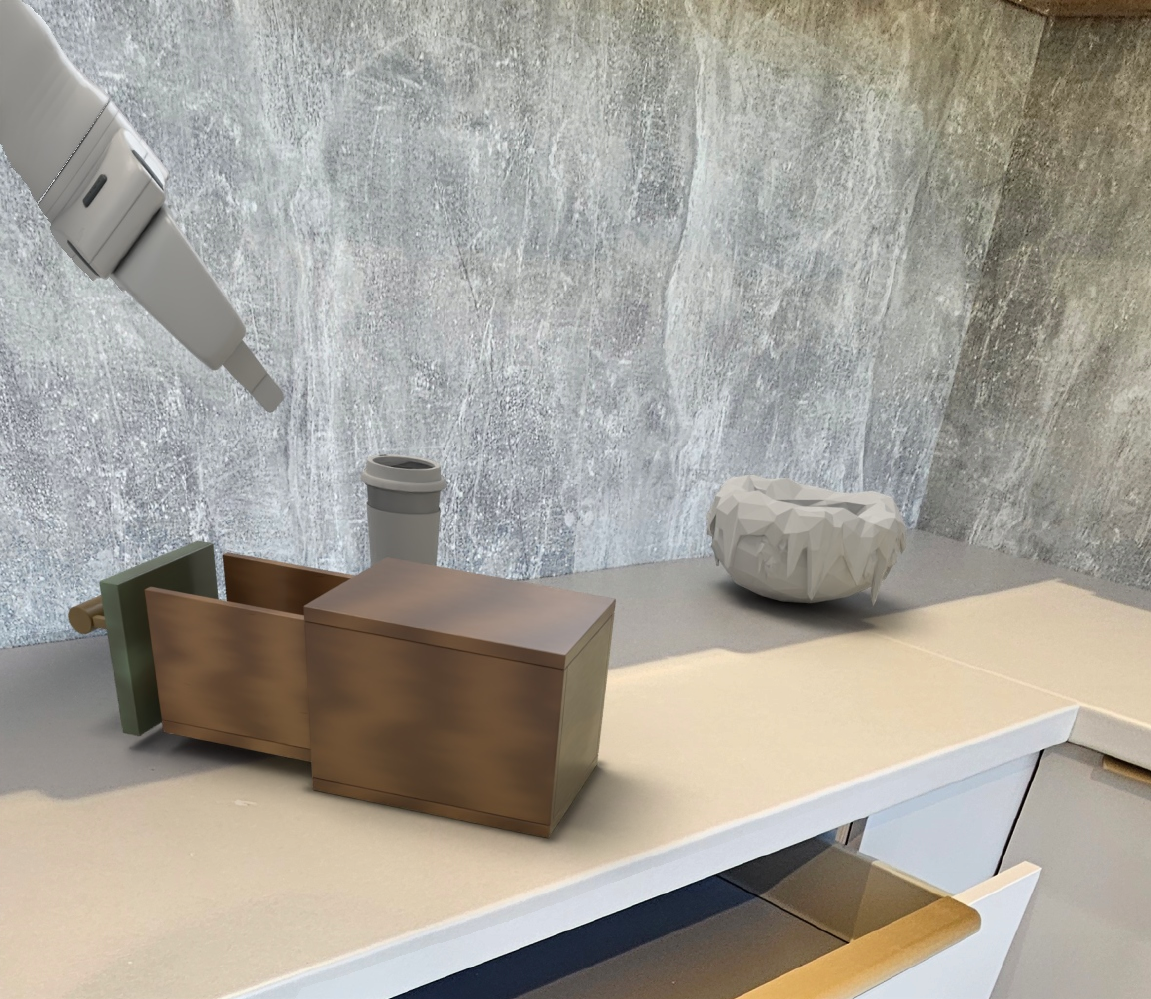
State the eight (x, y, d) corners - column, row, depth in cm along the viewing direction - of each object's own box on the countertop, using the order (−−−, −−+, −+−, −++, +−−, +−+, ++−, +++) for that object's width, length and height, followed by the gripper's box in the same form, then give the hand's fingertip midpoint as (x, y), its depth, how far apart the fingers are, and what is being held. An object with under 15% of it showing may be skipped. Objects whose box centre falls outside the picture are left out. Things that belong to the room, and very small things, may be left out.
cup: (410, 609, 104) (411, 451, 96) (459, 630, 101) (464, 468, 93) (346, 619, 100) (342, 454, 92) (396, 641, 97) (395, 472, 89)
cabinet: (312, 790, 73) (302, 605, 66) (387, 723, 83) (386, 556, 76) (548, 838, 72) (565, 654, 64) (597, 764, 81) (616, 598, 74)
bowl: (679, 605, 115) (697, 487, 108) (706, 562, 130) (724, 456, 123) (886, 642, 113) (917, 524, 106) (889, 593, 128) (917, 487, 121)
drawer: (61, 720, 75) (31, 568, 69) (156, 668, 84) (138, 529, 78) (334, 776, 73) (328, 624, 67) (401, 716, 82) (402, 577, 76)
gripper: (76, 233, 85) (227, 403, 95) (81, 257, 72) (257, 454, 81) (130, 158, 84) (278, 340, 93) (145, 168, 70) (317, 380, 79)
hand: (268, 393), depth 87 cm, fingers open, 8 cm apart
